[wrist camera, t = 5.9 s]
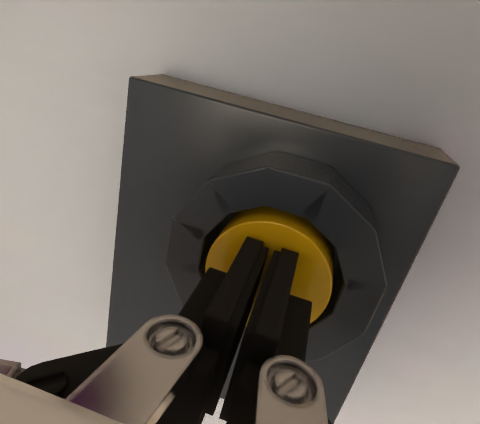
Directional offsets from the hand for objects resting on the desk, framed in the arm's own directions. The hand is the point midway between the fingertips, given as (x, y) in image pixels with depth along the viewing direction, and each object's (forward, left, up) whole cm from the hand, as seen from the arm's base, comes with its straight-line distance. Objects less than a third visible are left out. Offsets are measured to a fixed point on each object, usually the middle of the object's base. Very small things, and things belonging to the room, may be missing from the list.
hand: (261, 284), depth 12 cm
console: (+2, 0, -5) cm, 5 cm away
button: (0, 0, -2) cm, 2 cm away
